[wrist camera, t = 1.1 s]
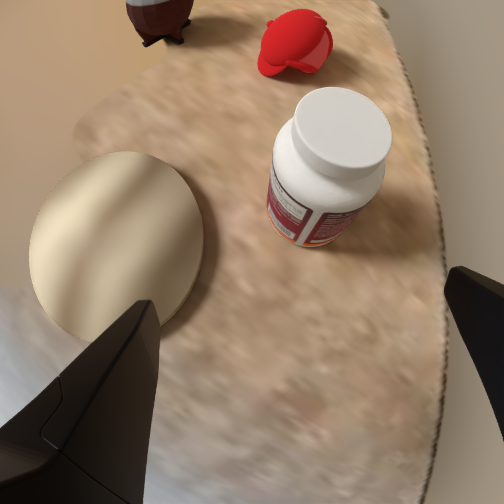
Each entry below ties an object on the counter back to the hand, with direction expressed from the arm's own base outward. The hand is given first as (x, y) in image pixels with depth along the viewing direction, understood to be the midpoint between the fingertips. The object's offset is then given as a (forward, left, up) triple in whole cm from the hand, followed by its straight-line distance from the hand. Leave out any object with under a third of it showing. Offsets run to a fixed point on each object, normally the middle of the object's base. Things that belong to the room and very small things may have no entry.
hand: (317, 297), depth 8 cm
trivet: (+13, 0, -14) cm, 19 cm away
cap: (+6, -23, -14) cm, 28 cm away
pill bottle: (0, -8, -14) cm, 16 cm away
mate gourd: (+21, -24, -14) cm, 35 cm away
